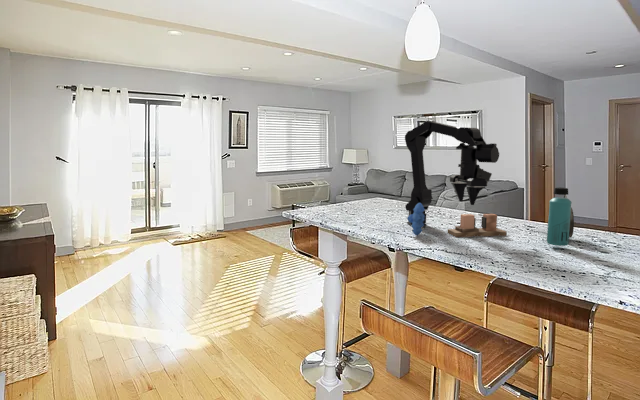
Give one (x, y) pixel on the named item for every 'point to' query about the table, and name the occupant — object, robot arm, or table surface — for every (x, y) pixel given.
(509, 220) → the table surface
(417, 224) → the grapes
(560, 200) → the beverage bottle
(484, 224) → the rail
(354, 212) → the table surface
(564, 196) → the alarm clock
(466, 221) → the salmon and grey block
